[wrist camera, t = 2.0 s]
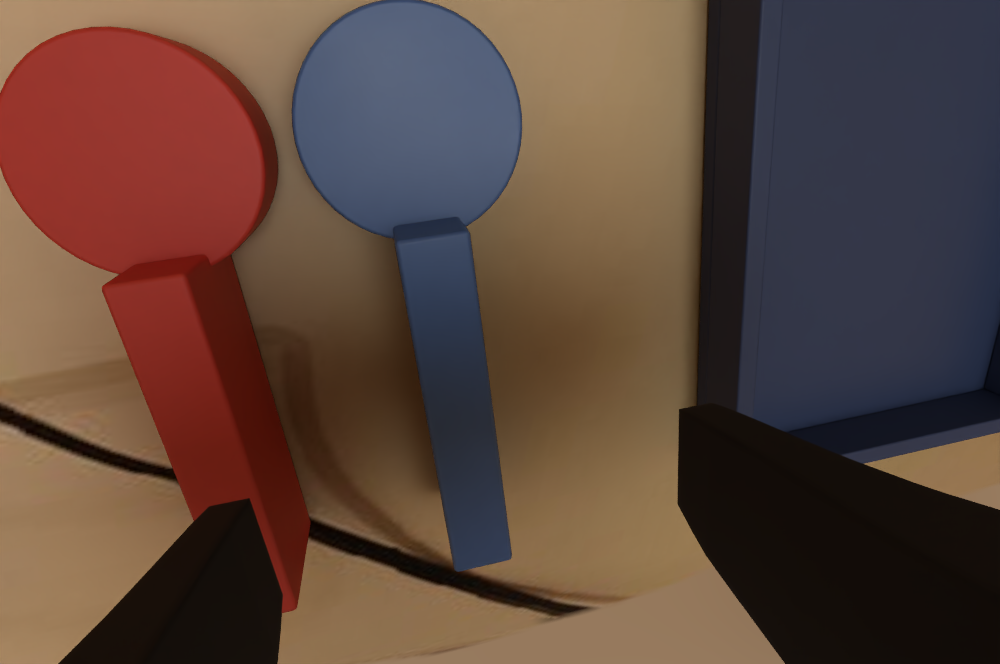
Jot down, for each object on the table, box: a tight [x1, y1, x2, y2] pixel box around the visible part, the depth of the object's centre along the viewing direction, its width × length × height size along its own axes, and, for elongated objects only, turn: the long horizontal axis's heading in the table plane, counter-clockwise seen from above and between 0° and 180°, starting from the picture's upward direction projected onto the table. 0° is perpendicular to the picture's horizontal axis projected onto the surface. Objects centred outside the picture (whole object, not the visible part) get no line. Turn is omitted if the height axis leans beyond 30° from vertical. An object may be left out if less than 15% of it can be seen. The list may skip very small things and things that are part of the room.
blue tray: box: [697, 0, 1000, 464], centre depth 14 cm, size 16×10×2 cm, turn 6°
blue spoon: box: [292, 0, 522, 572], centre depth 13 cm, size 12×4×3 cm, turn 6°
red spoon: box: [0, 27, 311, 613], centre depth 12 cm, size 12×4×3 cm, turn 6°
